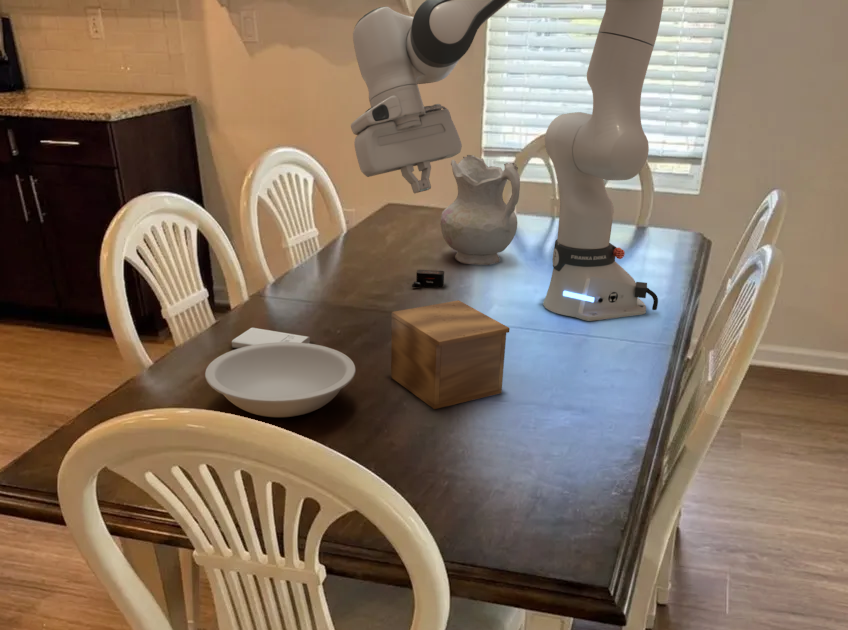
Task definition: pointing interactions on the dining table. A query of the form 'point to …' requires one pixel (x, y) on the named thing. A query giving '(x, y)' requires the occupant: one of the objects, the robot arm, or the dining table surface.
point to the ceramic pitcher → (481, 211)
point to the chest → (446, 366)
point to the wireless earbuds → (429, 278)
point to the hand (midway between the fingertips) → (422, 191)
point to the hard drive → (266, 338)
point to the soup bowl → (280, 377)
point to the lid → (449, 322)
